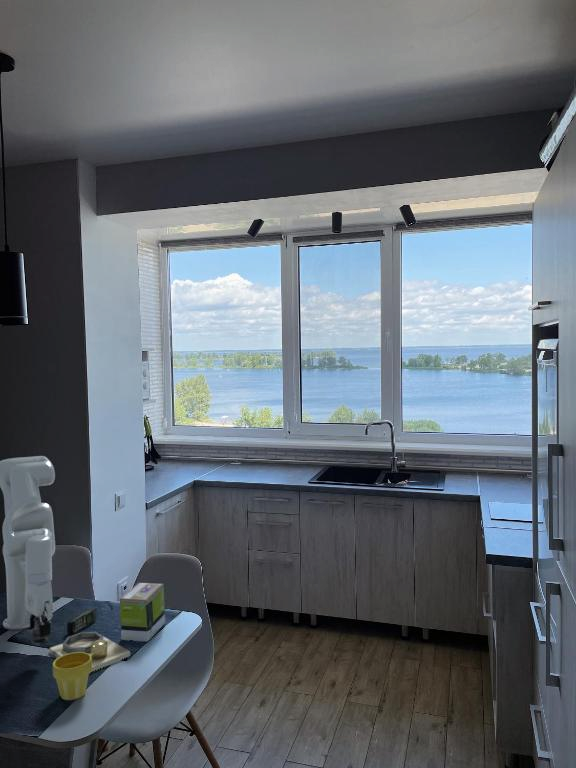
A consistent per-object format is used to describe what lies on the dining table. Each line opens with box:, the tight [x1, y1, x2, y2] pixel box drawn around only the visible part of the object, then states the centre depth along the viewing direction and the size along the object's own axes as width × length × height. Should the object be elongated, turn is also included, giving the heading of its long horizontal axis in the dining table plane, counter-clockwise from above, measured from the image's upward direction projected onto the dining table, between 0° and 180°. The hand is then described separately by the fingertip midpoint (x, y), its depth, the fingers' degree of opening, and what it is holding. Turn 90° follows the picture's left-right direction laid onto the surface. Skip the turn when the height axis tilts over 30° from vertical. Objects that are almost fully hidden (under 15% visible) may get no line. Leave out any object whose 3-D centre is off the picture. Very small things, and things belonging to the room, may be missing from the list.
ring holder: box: [63, 631, 104, 653], centre depth 195 cm, size 12×12×2 cm
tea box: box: [119, 582, 166, 643], centre depth 208 cm, size 15×10×15 cm
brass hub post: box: [91, 640, 108, 660], centre depth 188 cm, size 5×5×4 cm
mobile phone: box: [66, 607, 98, 636], centre depth 213 cm, size 5×3×15 cm
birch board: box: [49, 635, 131, 674], centre depth 192 cm, size 22×16×2 cm
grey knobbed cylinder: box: [29, 611, 50, 646], centre depth 187 cm, size 6×6×12 cm
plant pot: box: [52, 652, 92, 701], centre depth 169 cm, size 10×10×10 cm
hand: (40, 631), depth 187 cm, fingers closed on grey knobbed cylinder, 5 cm apart
